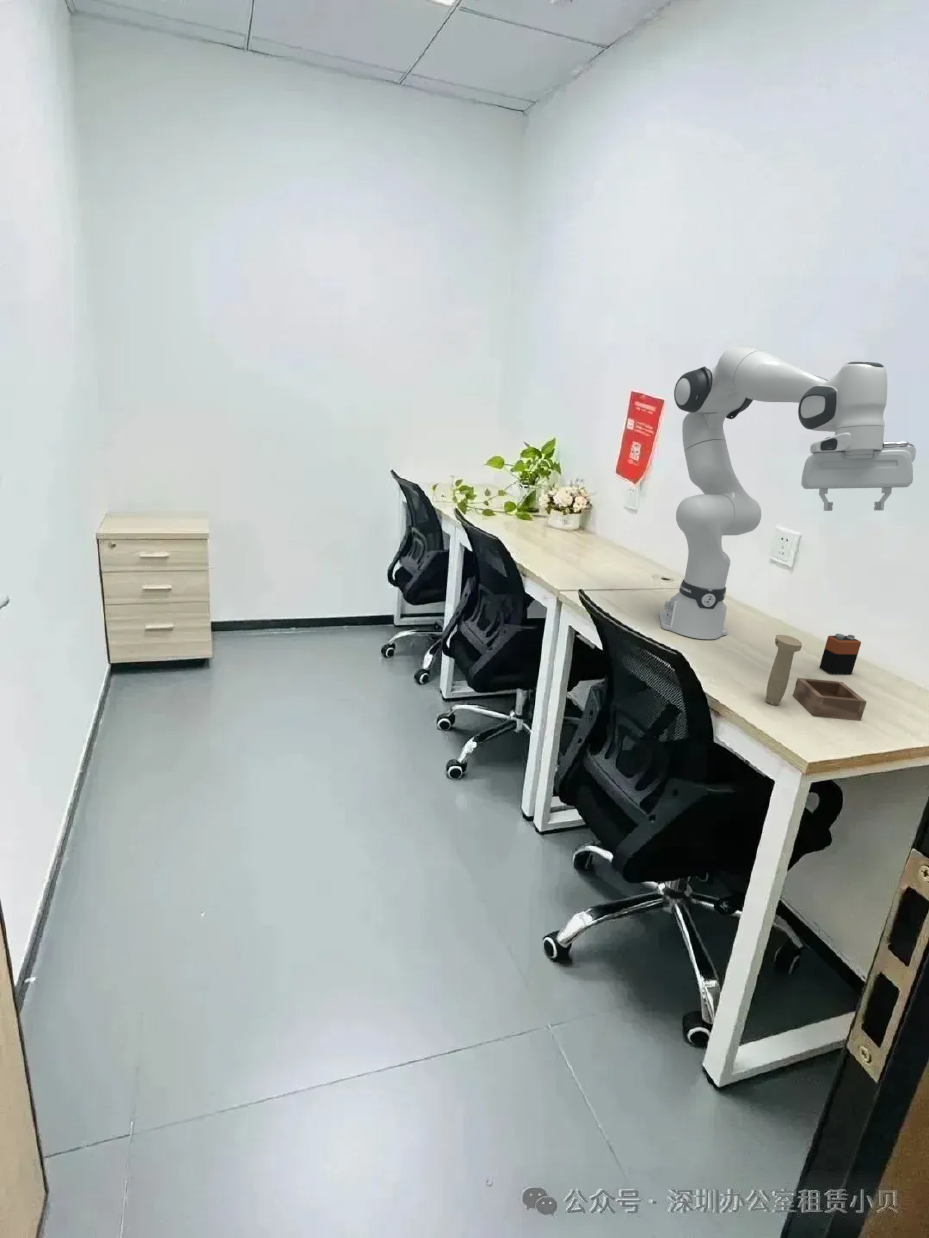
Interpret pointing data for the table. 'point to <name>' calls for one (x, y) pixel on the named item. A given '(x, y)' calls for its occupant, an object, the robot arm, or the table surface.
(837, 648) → the battery
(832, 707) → the brown square open box
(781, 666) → the handle
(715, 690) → the table surface
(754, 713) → the table surface
